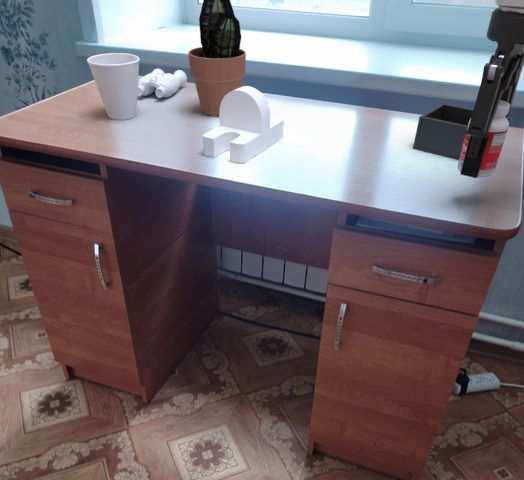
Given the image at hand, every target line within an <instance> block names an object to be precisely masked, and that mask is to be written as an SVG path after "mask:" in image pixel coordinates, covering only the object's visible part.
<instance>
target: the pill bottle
mask: <svg viewBox="0 0 524 480" xmlns="http://www.w3.org/2000/svg"><path fill="white" fill-rule="evenodd" d="M509 107H510V104H509V103H508V102H506V101H502V100H500V101H499V104H498V107H497V110H496V113H495V115H494V118H493V121H492V124H491V127H490V129H489V132H488V137H489V139H488V142H487V146H486V149H485V153H484V156H483V160H482V163H481V167H480V170H479V173H478V177H477V178H488V177H491V176H493V174H494V173H495V172H496V169H497V165H498V162H499V159H500V156H501V152H502V149H503V146H504V143H505V140H506V137H507V134H508V130H509V127H510V121H509V122H508V120H507V119H508V118H507V117H505V116H506V115H507V114H508V111H509ZM470 120H471V119H470ZM469 124H470V121H469ZM469 124H468V128H469ZM468 128H467V130H468ZM469 139H470V135H465V139H464V143H463V146H462V150H461V154H460V158H459V160H458V162H457V166H456V167H457V170H458V171H459V173H461V169H462V166H463V162H464V158H465V154H466V150H467V147H468V143H469Z"/></svg>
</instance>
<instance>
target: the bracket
mask: <svg viewBox="0 0 524 480" xmlns="http://www.w3.org/2000/svg"><path fill="white" fill-rule="evenodd" d="M219 115H220V116H219V126H217V127H215V128H213V129H210V130H209V131H207V132H205V133H203V134H202V145H203V155H204V156H205V157H210V158H214V159H215V158H216V157H218V156H220V155H221V154H223V153H224V152H227V151H229V162H232V163H236V164H246V163H248V162H249V161H252V159H254V158H255V157H257V156H258V155H260V154H261V153H263V152H264V151H266V150H268V149H269V148H270V147H271V146H274V145H275V144H276V143H278V142H279V141H281V140H282V139H283V138H284V124H285V119H284V118H282V117H278V116H271V108H270V106H269V102H268V100H267V98H266V96H265V95H264V94H263V93H262V92H261V91H260V90H258V89H257V88H255V87H253V86H250V85H243V86H241V87H240V88H237V89H235V90H233V91H231V92H229V93H228V94H226V95H225V96H224V98H223V100H222V101H221V105H220V112H219Z"/></svg>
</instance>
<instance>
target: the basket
mask: <svg viewBox="0 0 524 480" xmlns="http://www.w3.org/2000/svg"><path fill="white" fill-rule="evenodd" d="M473 110H474V108H469V107H464V106H460V105H458V106H457V105H453V104H448V103H444V102H443V103H440V104H439V105H436V106H435V107H433V108H432V109H430V110H428V111H427V112H425V113H423V114H422V115H420V116H419V117H418V123H417V125H416V126H417V127H416V132H415V135H414V136H415V137H414V140H413V146H412V149H414V150H418V151H421V152H424V153H425V152H426V153H431V154H434V155H439V156H443V157H446V158H450V159H454V160H458V161H459V158H460V154H461V150H462V146H463V143H464V139H465V135H466V134H465V132H466V130H467V128H468V124H469V121H470V119H471V117H472V113H473Z"/></svg>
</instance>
